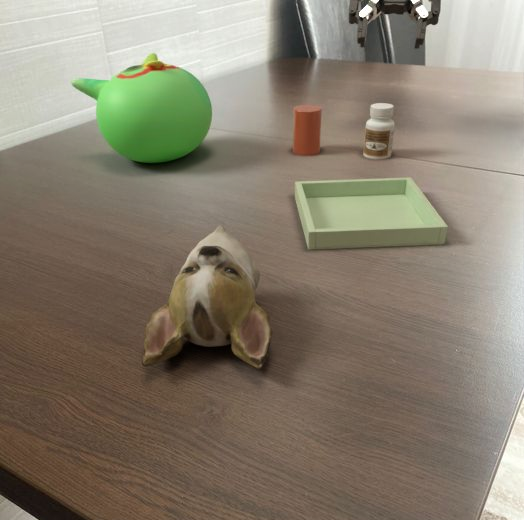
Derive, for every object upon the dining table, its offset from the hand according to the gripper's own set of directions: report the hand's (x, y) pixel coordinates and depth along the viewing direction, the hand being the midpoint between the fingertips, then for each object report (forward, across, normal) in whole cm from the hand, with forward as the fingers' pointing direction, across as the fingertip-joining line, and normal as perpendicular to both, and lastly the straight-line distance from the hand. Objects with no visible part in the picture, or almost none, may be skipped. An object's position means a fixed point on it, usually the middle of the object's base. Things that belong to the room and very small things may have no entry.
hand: (389, 44), depth 88 cm
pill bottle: (+18, 0, +3) cm, 18 cm away
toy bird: (+22, -35, -1) cm, 41 cm away
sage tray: (+35, 0, -15) cm, 38 cm away
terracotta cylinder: (+18, -11, +3) cm, 21 cm away
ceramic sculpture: (+54, -12, -34) cm, 65 cm away
